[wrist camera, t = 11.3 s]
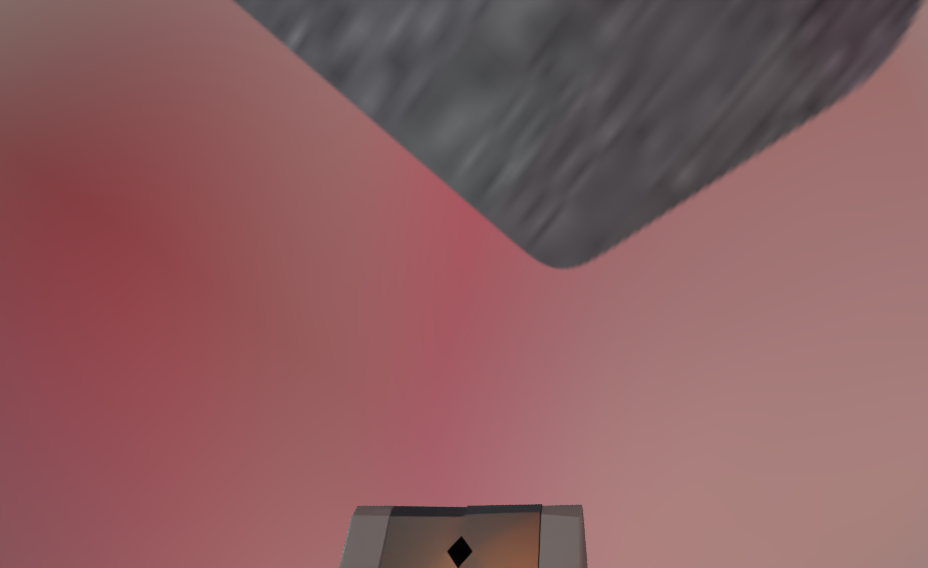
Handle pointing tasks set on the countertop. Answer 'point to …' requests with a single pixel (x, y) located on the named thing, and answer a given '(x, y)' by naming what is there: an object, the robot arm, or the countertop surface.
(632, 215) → the countertop surface
